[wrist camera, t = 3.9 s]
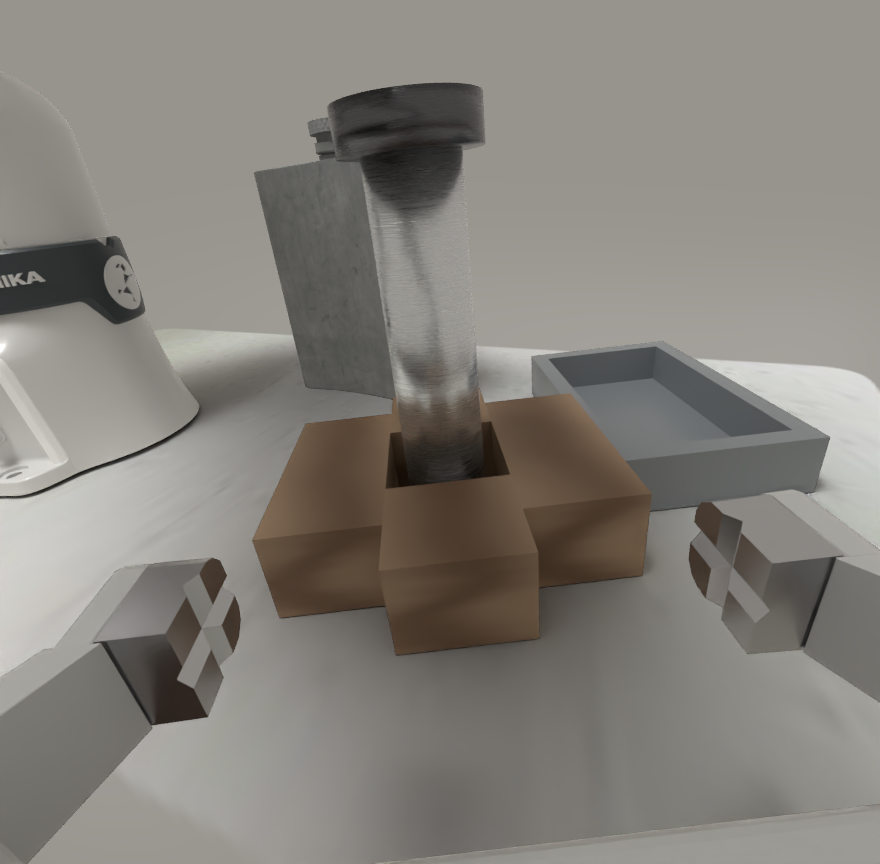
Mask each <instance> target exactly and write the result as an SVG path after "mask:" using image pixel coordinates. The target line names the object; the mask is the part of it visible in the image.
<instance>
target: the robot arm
mask: <svg viewBox="0 0 880 864" xmlns="http://www.w3.org/2000/svg"><path fill="white" fill-rule="evenodd" d="M108 235H112V234H111V231H110V228H109V226H108V223H107V221H106V218H105V215H104V212H103V210H102V207H101V204H100V202H99V199H98V196H97V194H96V191H95V189H94V186H93V183H92V181H91V178H90V175H89V173H88V170H87V167H86V165H85V162H84V160H83V157H82V154H81V152H80V149H79V146H78V144H77V141H76V138H75V136H74V133H73V131H72V129H71V127H70V126H69V124H68V122H67V121H66V120H65V118H64V117H63V116H62V114H61V113H60V112H59V111H58V110H57V109H56V107H55V106H54V105H53V104H52V103H51V102H49V101H48V100H47V99H46V98H45V97H44V96H43V95H41V94H40V93H39V92H37V91H36V90H35V89H33V88H32V87H30V86H28V85H27V84H25V83H23V82H21V81H20V80H18V79H16V78H14V77H12V76H10V75H8V74H6V73H4V72H2V71H0V496H21V495H26V494H30V493H33V492H36V491H39V490H41V489H44V488H46V487H48V486H51V485H53V484H55V483H57V482H59V481H62V480H64V479H66V478H68V477H70V476H72V475H74V474H76V473H78V472H81V471H83V470H86V469H89V468H91V467H94V466H97V465H100V464H103V463H106V462H109V461H112V460H115V459H118V458H121V457H123V456H126V455H129V454H131V453H134V452H136V451H139V450H141V449H143V448H146V447H148V446H150V445H152V444H154V443H156V442H158V441H160V440H162V439H164V438H166V437H168V436H169V435H171V434H173V433H174V432H176V431H178V430H179V429H181V428H182V427H183V426H185V425H186V424H187V423H188V422H190V421H191V420H192V419H193V418H194V417H195V415H196V414H197V412H198V410H199V403H198V402H197V401H196V399H195V398H194V397H193V396H192V394H191V393H190V392H189V390H188V389H187V388H186V386H185V385H184V383H183V382H182V380H181V379H180V377H179V376H178V374H177V373H176V371H175V370H174V368H173V366H172V364H171V363H170V361H169V359H168V358H167V356H166V354H165V352H164V351H163V349H162V347H161V345H160V343H159V341H158V339H157V337H156V336H155V334H154V332H153V330H152V328H151V325H150V323H149V321H148V319H147V317H146V315H145V313H144V312H145V306H144V302H143V298H142V295H141V291H140V288H139V286H138V283H137V280H136V278H135V275H134V272H133V270H132V267H131V264H130V262H129V259H128V257H127V254H126V252H125V250H124V247H123V245H122V242H121V240H120V238H118V237H117V236H111V237H102V236H108ZM94 237H100V238H94ZM86 238H90V239H86ZM78 239H81V240H78ZM70 240H72V241H70ZM62 241H63V242H62ZM54 242H55V243H54ZM45 243H46V244H45ZM37 244H38V245H37ZM20 246H21V247H20ZM694 522H695V523H696V525H697V526H698V527H699V529H700V530H701V532H700V533H699V534H698V535H697V536H696V538H695V539H694V540H693V541H692V542H691V544H690V552H689V562H690V568H691V573H692V576H693V578H694V580H695V582H696V585H697V587H698V588H699V589H700V591H701V592H702V594H703V595H704V596H705V598H706V599H708V600H710V601H712V602H714V603H715V604H717V605H719V606H721V607H723V610H722V618H721V620H722V621H723V622H724V624H725V625H726V626H727V628H728V629H729V631H730V632H731V633H732V635H733V636H734V637H735V639H736V640H737V641H738V643H739V644H740V645H741V647H742V648H743V649H744V651H745V652H746V653H747V654H757V653H768V652H779V651H791V650H802V649H804V651H803V653H805V654H807V655H808V656H810V657H811V658H813V659H814V660H816V661H817V662H819V663H820V664H822V665H823V666H825V667H826V668H828V669H829V670H831V671H832V672H834V673H835V674H837V675H839V676H840V677H842V678H843V679H845V680H846V681H848V682H849V683H851V684H852V685H854V686H855V687H857V688H858V689H860V690H861V691H863V692H864V693H866V694H867V695H869V696H871V697H872V698H874V699H875V700H877V701H878V702H880V550H879V549H878V548H876V547H875V546H874V545H872V544H871V543H870V542H868V541H867V540H866V539H864V538H863V537H862V536H860V535H859V534H858V533H856V532H855V531H854V530H852V529H851V528H850V527H848V526H847V525H846V524H844V523H843V522H842V521H840V520H839V519H838V518H836V517H835V516H834V515H832V514H831V513H830V512H828V511H827V510H826V509H824V508H823V507H822V506H820V505H819V504H818V503H816V502H815V501H814V500H812V499H811V498H810V497H808V496H807V495H806V494H804V493H802V492H799V491H796V490H793V489H792V490H785V491H778V492H771V493H764V494H761V495H755V496H747V497H738V498H730V499H722V500H713V501H705V502H701V504H700V505H699V507H698V508H697V510H696V515H695V521H694ZM226 576H227V575H226V573H225V571H224V568H223V566H222V564H221V562H220V561H219V560H217V559H214V558H205V559H194V560H184V561H173V562H162V563H154V564H144V565H135V566H125V567H123V568H121V569H119V570H117V571H115V572H114V573H113V575H112V576H111V577H110V578H109V580H108V581H107V582H106V584H105V585H104V586H103V587H102V589H101V590H100V591H99V592H98V594H97V595H96V596H95V597H94V599H93V600H92V601H91V602H90V604H89V605H88V606H87V607H86V609H85V610H84V611H83V612H82V614H81V615H80V616H79V617H78V619H77V620H76V621H75V622H74V624H73V625H72V626H71V627H70V629H69V630H68V631H67V633H66V634H65V635H64V636H63V638H62V639H61V640H60V641H59V643H58V644H57V645H56V646H55V648H52V649H44V650H42V651H40V652H39V653H37V654H36V655H34V656H33V657H31V658H30V659H28V660H27V661H25V662H24V663H22V664H21V665H19V666H18V667H16V668H15V669H13V670H12V671H10V672H8V673H7V674H5V675H4V676H2V677H1V678H0V864H28V863H29V861H30V860H31V859H32V858H33V857H34V856H35V855H36V854H37V853H38V852H39V851H40V849H41V848H42V847H43V846H44V845H45V844H46V843H47V842H48V841H49V840H50V839H51V838H52V837H53V835H54V834H55V833H56V832H57V831H58V830H59V829H60V828H61V827H62V826H63V825H64V824H65V822H66V821H67V820H68V819H69V818H70V817H71V816H72V815H73V814H74V813H75V812H76V811H77V809H78V808H79V807H80V806H81V805H82V804H83V803H84V802H85V801H86V800H87V799H88V798H89V796H90V795H91V794H92V793H93V792H94V791H95V790H96V789H97V788H98V787H99V786H100V785H101V784H102V782H103V781H104V780H105V779H106V778H107V777H108V776H109V775H110V774H111V773H112V772H113V771H114V769H115V768H116V767H117V766H118V765H119V764H120V763H121V762H122V761H123V760H124V759H125V758H126V757H127V755H128V754H129V753H130V752H131V751H132V750H133V749H134V748H135V747H136V746H137V745H138V744H139V742H140V741H141V740H142V739H143V738H144V737H145V736H146V735H147V734H148V733H149V732H150V731H151V729H152V726H151V725H158V724H165V723H172V722H178V721H185V720H192V719H199V718H206V717H208V716H209V713H210V711H211V708H212V706H213V703H214V701H215V698H216V696H217V693H218V690H219V688H220V685H221V683H222V680H223V678H224V677H223V675H222V672H221V670H220V668H219V666H220V665H221V664H222V663H223V662H224V661H225V660H226V659H227V658H228V657H229V656H230V655H231V654H232V653H233V652H234V649H235V646H236V644H237V641H238V638H239V630H240V621H241V618H240V611H239V606H238V603H237V600H236V598H235V595H233V594H232V593H230V592H229V591H227V590H226V589H225V588H223V587H222V585H223V583H224V581H225V579H226ZM374 864H880V804H875V805H866V806H858V807H849V808H841V809H832V810H824V811H815V812H807V813H798V814H790V815H781V816H773V817H764V818H755V819H747V820H738V821H730V822H721V823H713V824H704V825H696V826H687V827H679V828H670V829H662V830H653V831H645V832H636V833H628V834H619V835H611V836H602V837H593V838H585V839H576V840H568V841H559V842H551V843H543V844H534V845H526V846H517V847H509V848H500V849H492V850H483V851H475V852H467V853H458V854H450V855H441V856H433V857H424V858H416V859H408V860H399V861H391V862H382V863H374Z"/></svg>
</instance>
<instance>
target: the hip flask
mask: <svg viewBox="0 0 880 864" xmlns="http://www.w3.org/2000/svg"><path fill="white" fill-rule="evenodd" d="M308 128H309V132H310V136H311V137H316V139H317V143H316V144H315V147H316V154H318V155H321V156H319V158H320V161H316V162H311V163H305V164H299V165H294V166H288V167H282V168H275V169H269V170H263V171H257V172H254V175H255V179H256V183H257V187H258V191H259V196H260V200H261V204H262V208H263V212H264V216H265V220H266V225H267V229H268V233H269V237H270V241H271V245H272V249H273V254H274V258H275V261H276V266H277V270H278V274H279V278H280V282H281V286H282V291H283V295H284V298H285V303H286V307H287V311H288V316H289V319H290V324H291V328H292V332H293V336H294V340H295V345H296V349H297V353H298V357H299V361H300V365H301V369H302V373H303V378H304V382H305V386H306V387H309V388H319V389H332V390H342V391H350V392H357V393H363V394H368V395H374V396H379V397H384V398H389V399H393V397H396V394H395V387H394V381H393V374H392V367H391V361H390V354H389V348H388V341H387V335H386V328H385V322H384V315H383V309H382V302H381V296H380V289H379V283H378V276H377V270H376V263H375V257H374V250H373V244H372V237H371V231H370V224H369V218H368V211H367V205H366V198H365V192H364V185H363V179H362V172H361V166H360V162H338V161H336V157H335V152H334V146H333V140H332V134H331V128H330V123H329V117H328V118H321V119H316V120H312V121H310V122H308Z"/></svg>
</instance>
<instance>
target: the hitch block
mask: <svg viewBox="0 0 880 864" xmlns="http://www.w3.org/2000/svg"><path fill="white" fill-rule="evenodd" d="M479 398H480V413H481V427H482V442H483V456H484V471H485V478H476V479H468V480H459V481H451V482H442V483H433V484H425V485H416V486H410V485H409V478H408V472H407V465H406V459H405V452H404V446H403V439H402V433H401V426H400V420H399V413H398V407H397V400H396V397H393V405H392V414H385V415H377V416H368V417H359V418H351V419H342V420H333V421H325V422H316V423H307V424H305V426H304V428H303V431H302V433H301V435H300V437H299V439H298V442H297V444H296V446H295V448H294V450H293V452H292V455H291V457H290V459H289V461H288V463H287V466H286V468H285V470H284V472H283V474H282V476H281V479H280V481H279V483H278V485H277V487H276V489H275V492H274V494H273V496H272V498H271V500H270V503H269V505H268V507H267V509H266V511H265V513H264V516H263V518H262V520H261V522H260V524H259V527H258V529H257V531H256V533H255V535H254V537H253V540H252V541H253V544H254V547H255V549H256V552H257V555H258V558H259V561H260V564H261V567H262V569H263V572H264V575H265V578H266V581H267V584H268V586H269V589H270V592H271V595H272V598H273V601H274V604H275V606H276V609H277V612H278V615H279V618H284V617H293V616H301V615H310V614H319V613H327V612H336V611H344V610H353V609H361V608H370V607H378V606H386V610H387V615H388V620H389V624H390V629H391V634H392V639H393V644H394V648H395V653H396V655H403V654H411V653H420V652H428V651H437V650H445V649H454V648H462V647H471V646H479V645H488V644H496V643H505V642H513V641H522V640H530V639H539V588H540V587H549V586H557V585H566V584H574V583H583V582H591V581H600V580H608V579H617V578H625V577H634V576H642V574H643V565H644V557H645V548H646V540H647V532H648V523H649V515H650V506H651V498H652V493H651V492H650V491H649V489H648V488H647V487H646V486H645V484H644V483H643V482H642V481H641V479H640V478H639V477H638V476H637V475H636V473H635V472H634V471H633V470H632V468H631V467H630V466H629V465H628V463H627V462H626V461H625V460H624V459H623V457H622V456H621V455H620V454H619V452H618V451H617V450H616V449H615V447H614V446H613V445H612V444H611V443H610V441H609V440H608V439H607V438H606V436H605V435H604V434H603V433H602V431H601V430H600V429H599V428H598V427H597V425H596V424H595V423H594V422H593V420H592V419H591V418H590V417H589V415H588V414H587V413H586V412H585V410H584V409H583V408H582V407H581V406H580V404H579V403H578V402H577V401H576V399H575V398H574V397H573V396H572V394H571V393H568V394H559V395H550V396H542V397H533V398H524V399H516V400H507V401H498V402H490V403H485V402H484V400H483V397H482V394H481V391H480V388H479Z"/></svg>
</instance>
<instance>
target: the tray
mask: <svg viewBox="0 0 880 864" xmlns="http://www.w3.org/2000/svg"><path fill="white" fill-rule="evenodd" d="M568 393H571V394H572V396H573V397H574V398H575V399H576V401H577V402H578V403H579V404H580V406H581V407H582V408H583V409H584V410H585V412H586V413H587V414H588V415H589V417H590V418H591V419H592V420H593V422H594V423H595V424H596V425H597V427H598V428H599V429H600V430H601V431H602V433H603V434H604V435H605V436H606V438H607V439H608V440H609V441H610V443H611V444H612V445H613V446H614V447H615V449H616V450H617V451H618V452H619V454H620V455H621V456H622V457H623V459H624V460H625V461H626V462H627V463H628V465H629V466H630V467H631V468H632V470H633V471H634V472H635V473H636V475H637V476H638V477H639V478H640V479H641V481H642V482H643V483H644V484H645V486H646V487H647V488H648V489H649V491H650V492H651V493H652V498H651V506H650V511H656V510H664V509H673V508H682V507H690V506H699V505H700V504H701V502H705V501H713V500H722V499H730V498H738V497H747V496H755V495H761V494H764V493H771V492H778V491H785V490H792V489H793V490H796V491H799V492H802V493H810V492H814V490H815V487H816V483H817V480H818V476H819V473H820V470H821V466H822V463H823V460H824V456H825V453H826V450H827V446H828V443H829V440H830V437H829V436H828V435H826V434H824V433H822V432H821V431H819V430H817V429H815V428H814V427H812V426H810V425H808V424H807V423H805V422H803V421H802V420H800V419H798V418H796V417H795V416H793V415H791V414H789V413H788V412H786V411H784V410H782V409H781V408H779V407H777V406H775V405H774V404H772V403H770V402H768V401H767V400H765V399H763V398H761V397H760V396H758V395H756V394H754V393H753V392H751V391H749V390H748V389H746V388H744V387H742V386H741V385H739V384H737V383H735V382H734V381H732V380H730V379H728V378H727V377H725V376H723V375H721V374H720V373H718V372H716V371H714V370H713V369H711V368H709V367H707V366H706V365H704V364H702V363H700V362H699V361H697V360H695V359H693V358H692V357H690V356H688V355H687V354H685V353H683V352H681V351H680V350H678V349H676V348H674V347H673V346H671V345H669V344H667V343H666V342H664V341H659V342H651V343H642V344H634V345H625V346H616V347H607V348H598V349H590V350H581V351H572V352H564V353H555V354H546V355H538V356H532V394H533V395H534V397H542V396H550V395H559V394H568Z"/></svg>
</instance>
